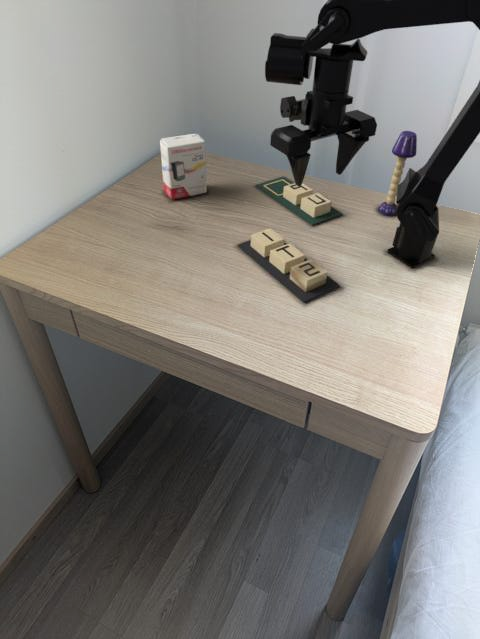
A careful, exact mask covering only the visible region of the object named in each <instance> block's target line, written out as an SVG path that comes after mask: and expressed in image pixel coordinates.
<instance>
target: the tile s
mask: <svg viewBox="0 0 480 639" xmlns="http://www.w3.org/2000/svg"><path fill="white" fill-rule="evenodd" d="M327 276H328V271H327V270H325V269H324V268H323V267H322V266H320V265H319V264H318V263H317V262H315V261H314V260H313V259H311V258H310V259H307V261H305V262H303V263H300V264H298V265H295V266H293V267H291V270H290V279H291V280H292V281H293V282H294V283H295V284H297V285H298V286H299V287H300V288H301V289H303V290H304V291H305V292H307V291H310V290H312V289H314V288H316V287H319V286H321V285H323V284H325V283H326V278H327Z"/></svg>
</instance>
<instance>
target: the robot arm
mask: <svg viewBox="0 0 480 639" xmlns="http://www.w3.org/2000/svg"><path fill="white" fill-rule="evenodd" d="M467 22H468V23H469V22H470V23H473V24H474V25H475V27H476V28H477V29H478V30H479V31H480V0H327V1H326V2H325V3H324V4H323V5H322V7H321V8H320V11H319V13H318V16H317V24H316V26H315V27H314V28H311V29H310V30H309V32H308V33H307V34H306V36H297V35H286V34H284V33H278V32H274V33H273V34H272V35H271V36H270V40H269V41H270V42H269V46H268V47H269V48H268V51H267V56H266V57H267V58H266V61H265V64H264V77H265V81H266V82H267V83H276V84H287V85H295V86H302V85H303V83H304V81H305V79H306V80H310V78H311V75H312V69H313V62H314V71H313V81H312V90H309V91H306V93H305V95H304V96H305V97H304V98H303V99H298V100H297V99H296V96H295V95H291V96H285V97H281V99H280V105H279V111H280V116H281V117H282V118H283V119H288V122H289V123H292V122H294V121H300V125H303V126H307V127H308V128H307V129H304V130H303V129H300V128H299V127H296V126H295V125H293V124H290V125H286V126H282V127H277V128H274V130H272V132H271V134H270V141H269V142H270V143H269V145H270V146H271V147H273V148H274V149H275V150H277V151H279V152H281V153H282V154H284V155H285V156H286V158H287V160H288V163H289V165H290V169H291V173H292V176H293V180H294V183H295V184H296V185H297V186H298V187H300V186H301V185H302V183H303V182H304V179H305V177H306V173H307V169H308V165H309V162H310V159H311V155H312V154H310V152H309V150H310V149H311V145H312V142H314V141H318V140H322V139H326V138H331V137H333V136H337V140H338V148H337V155H336V161H335V173H336V174H337V175H339V176H341V175H342V174H343V173H344V171H345V170H346V169H347V168H348V166H349V164H350V163H351V161H352V160H353V158H354V157H355V156H356V154H357V153H358V152H359V151H360V150H361V149H362V147H363V146H364V145H365V144H366V143H367V142H369V141H370V137H374V136H376V132H377V127H378V123H377V121H376V118H375V116H371V115H370V114H368V113H366V112H364V111H362V110H359V109H354V110H350V111H347V106H349V105H352V104H353V102H354V96H351V95H350V94H349V92H350V85H351V78H352V73H353V65H354V62H355V61H358V62H364V61H365V60H366V58H367V56H368V51H367V50H368V49H366V48H365V47H364V46H363V44H362V42H361V39H362V38H364V37H367V36H370V35H372V34H374V33H377V32H380V31H384V30H393V29H402V28H415V27H424V26H425V27H426V26H435V25H446V24H447V25H448V24H458V23H467ZM352 41H354V42H353V43H352V44H349V43H348V44H346V43H347V42H352ZM328 44H330V45H331V44H332V45H331V48H330V47H329V48H328V47H327V48H325V46H327V45H328ZM314 57H315V61H314ZM479 135H480V80H479V81H478V83H477V86H476V87H475V88H474V90H473V92H472V93H471V95H470V96H469V97H468V99H467V101H466V102H465V104H464V105H463V107H462V108H461V110H460V111H459V113H458V114H457V116H456V117H455V119H453V122H452V123H451V125H450V127H449V128H448V130H447V131H446V133H445V134H444V136H443V137H442V138H441V140H440V142H439V143H438V145H437V146H436V148H435V149H434V150H433V152H432V153H431V155H430V157H429V158H428V160H427V162H426V163H425V164H424V165H423V166H422V167H421V168H419V169H418V170H417V171H416V170H415V169H413V168H412V167H409V168H408V170H407V173H406V175H405V177H404V179H403V180H402V181H401V182H400V183H399V185H398V189H397V196H396V198H395V204H396V205H397V210H396V215H395V216H396V218H397V220H398V221H399V226H397V227H396V230H395V233H394V237H393V241H392V246H391V247H389V248H388V249H387V250H386V253H387V254H389V255H390V256H392V257H393V258H394V259H396V260H398V261H399V262H401V263H403V264H404V265H405V266H407V267H409V268H410V269H415V268H417V267H419V266H421V265H424V264H426V263H428V262H430V261H433V260H434V259H435V258H436V255H435V254H434V253H433V250H434V247H435V245H436V241H437V238H438V235H439V234H440V214H439V213H440V212H439V211H440V210H439V207H438V206H437V205H438V201H439V199H440V196H441V194H442V191H443V189H444V185H445V183H446V181H447V180H448V178H449V177H450V176H451V174H452V173H453V171H455V169H456V167H457V166H458V165H459V163H460V162H461V160H462V159H463V157H464V156H465V155H466V153H467V152H468V150H469V149H470V147H471V146H472V145H473V144H474V142H475V140H476V139H477V138H478V136H479Z"/></svg>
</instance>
